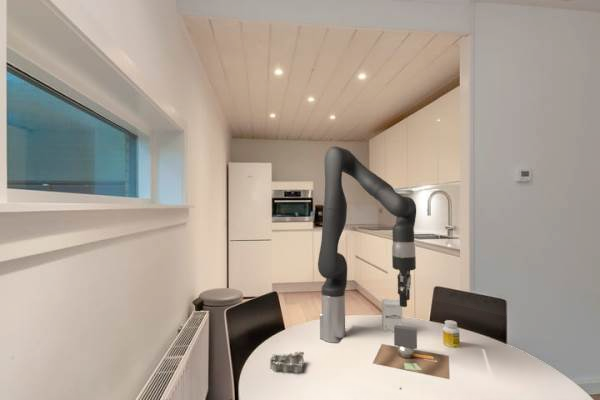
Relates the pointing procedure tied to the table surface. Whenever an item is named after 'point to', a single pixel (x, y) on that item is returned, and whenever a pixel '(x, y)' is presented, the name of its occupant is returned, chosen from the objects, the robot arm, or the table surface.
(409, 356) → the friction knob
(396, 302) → the supplement box
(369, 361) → the table surface
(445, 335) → the supplement bottle
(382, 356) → the brown flat board
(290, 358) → the egg carton
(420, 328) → the table surface
